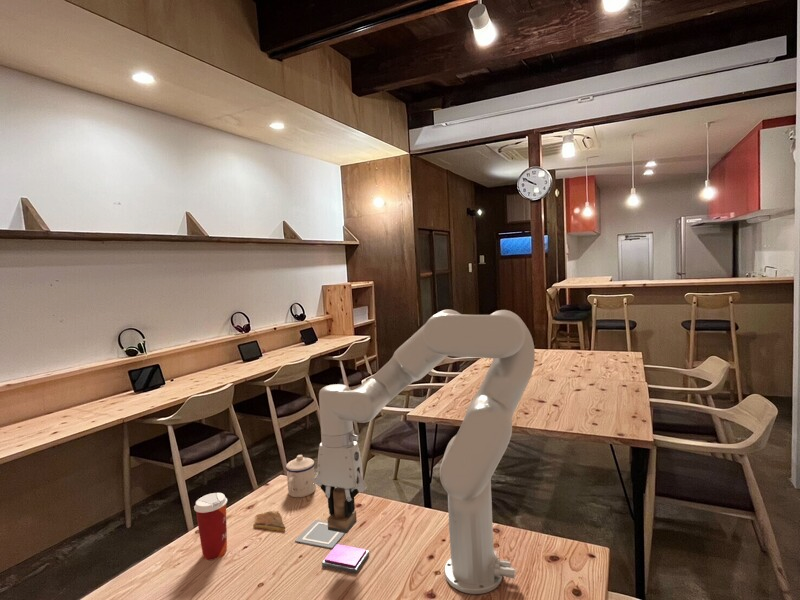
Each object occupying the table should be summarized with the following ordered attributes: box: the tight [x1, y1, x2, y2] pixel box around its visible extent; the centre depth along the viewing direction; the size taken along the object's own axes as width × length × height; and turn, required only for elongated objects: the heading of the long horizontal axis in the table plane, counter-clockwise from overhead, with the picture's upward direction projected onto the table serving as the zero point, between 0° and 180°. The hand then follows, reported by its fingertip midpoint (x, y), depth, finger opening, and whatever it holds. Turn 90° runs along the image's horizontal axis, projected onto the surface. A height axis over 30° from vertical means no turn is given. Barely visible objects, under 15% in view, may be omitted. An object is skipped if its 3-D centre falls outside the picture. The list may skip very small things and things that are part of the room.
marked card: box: [294, 519, 346, 550], centre depth 115 cm, size 11×10×1 cm
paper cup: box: [193, 492, 228, 561], centre depth 110 cm, size 8×8×14 cm
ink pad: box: [321, 543, 370, 574], centre depth 104 cm, size 9×7×2 cm
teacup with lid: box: [285, 454, 317, 498], centre depth 138 cm, size 12×9×12 cm
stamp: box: [327, 487, 358, 534], centre depth 103 cm, size 5×5×9 cm
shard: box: [252, 510, 286, 532], centre depth 121 cm, size 11×8×2 cm
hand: (341, 512), depth 104 cm, fingers closed on stamp, 3 cm apart
